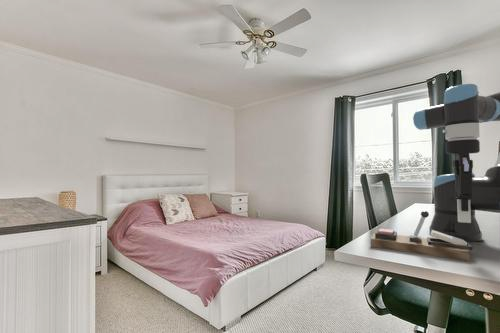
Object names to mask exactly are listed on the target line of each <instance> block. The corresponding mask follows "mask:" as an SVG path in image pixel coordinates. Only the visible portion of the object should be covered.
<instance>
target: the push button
mask: <svg viewBox="0 0 500 333" xmlns="http://www.w3.org/2000/svg"><path fill="white" fill-rule="evenodd" d="M378 230H379V233H383V234H391V235H394V229H388V228H387V229H386V228H379V229H378Z"/></svg>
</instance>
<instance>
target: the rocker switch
mask: <svg viewBox="0 0 500 333" xmlns="http://www.w3.org/2000/svg"><path fill="white" fill-rule="evenodd" d="M430 236H431V237H432V238H438V239H441V240H444V241H447V242H450V243H453V244H456V245H464V246H467V243H466V242H467V241H464V240H462V239H459V238H456V237H453V236H449V235H446V234H443V233H440V232H437V231H434V230H432V231H431V234H430Z"/></svg>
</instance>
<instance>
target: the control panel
mask: <svg viewBox="0 0 500 333" xmlns="http://www.w3.org/2000/svg"><path fill="white" fill-rule="evenodd" d="M465 242H466V243H467V246H464V245H456V244H453V243H450V242H447V241H444V240H441V239H438V238H435V237H428V236H427V237H422V236H419V235H418V236H414V235H409V236H408V235H403V234H402V235H401V234H398V232H397V231H394V235H391V234H383V233H379V229H376V231H375V232H374V233H373V234H372V236H371V238H370V247H372V248H380V249H386V250H391V251H392V250H393V251H400V252H406V253H407V252H408V253H413V254H419V255H427V256H433V257H441V258H447V259H455V260H461V261H467V262H468V261H469V262H470V251H473V246H472V245H471V244H470V241H465Z"/></svg>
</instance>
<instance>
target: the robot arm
mask: <svg viewBox="0 0 500 333" xmlns="http://www.w3.org/2000/svg"><path fill="white" fill-rule="evenodd" d="M479 93H480V92H479V87H478V85H476V84H475V83H463V84H458V85H454V86H450V87H449V88H446V90H445V91H444V95H443V104H439V105H435V106H429V107H424V108H421V109H418V110H416V111H415V112H414V114H413V117H412V118H413V119H412V120H413V125H414V126H415V128H416V129H418V130H421V131H423V130H430V129H436V128H437V129H439V128H444V129H442V133H443V134H445V140H446V142H445V144H444V146H445V154H447V155H455V159H454V160H452V166H453V173H451V174H450V173H449V174H441V175H438V176H436V177H435V178H434V181H433V182H434V183H433V189H434V190H433V194H434V195H433V196H434V197H433V198H434V200H433V201H434V202H433V203H434V215H433V217H432V221H431V223H430V226H429V227H428V228H429V231H428V232H429V234H430V235H431V231H432V230H434V231H437V232H440V233H443V234H446V235H449V236H453V237H456V238H459V239H462V240H464V241H465V242H480V241H483V232H482V231H481V229H480V226H479V224H478V221H477V219H476V211H479V212H486V213H487V212H488V213H497V214H500V152H499V153H498V156H497V158H496V161H495V164H494V166H491V167H489V168H488V169H487V170H486V171H485V175H484V176H476V175H475V173H474V172H473V168H474V160H473V159H471V157H470V156H471V155H470V154H478V153H480V152H481V150H480V149H481V148H480V147H481V146H480V144H481V143H480V140H479V139H478V138H479V137H480V124H481V123H488V122H500V91H499V92H496V93H493V94H489V95H486V96H483V95H479Z"/></svg>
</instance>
